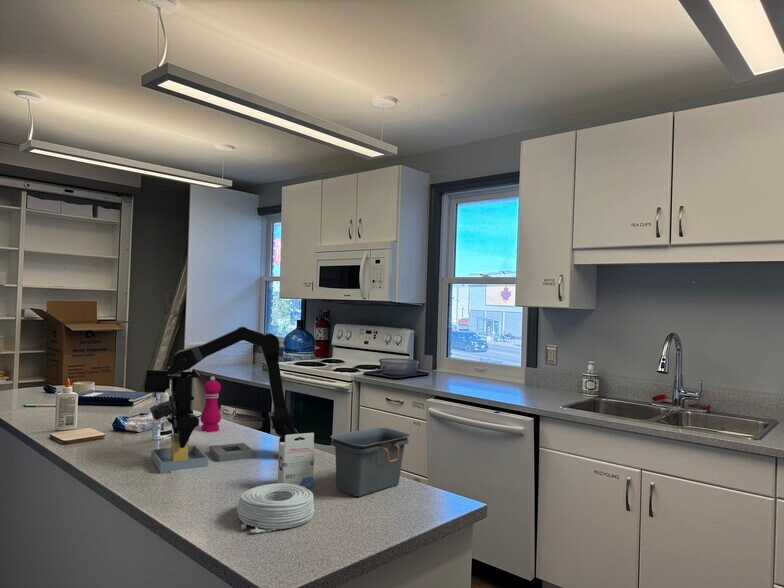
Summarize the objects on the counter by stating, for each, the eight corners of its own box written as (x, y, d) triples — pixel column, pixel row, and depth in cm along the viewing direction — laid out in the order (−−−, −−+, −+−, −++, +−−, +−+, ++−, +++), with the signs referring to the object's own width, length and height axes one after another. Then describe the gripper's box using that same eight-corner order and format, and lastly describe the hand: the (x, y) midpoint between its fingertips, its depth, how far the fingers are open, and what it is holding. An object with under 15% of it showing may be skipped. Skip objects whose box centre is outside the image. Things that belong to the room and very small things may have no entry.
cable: (242, 538, 118) (244, 509, 118) (231, 508, 134) (232, 483, 134) (322, 528, 125) (324, 500, 125) (302, 500, 141) (303, 476, 141)
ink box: (307, 482, 155) (309, 428, 155) (313, 487, 150) (315, 432, 151) (276, 485, 151) (279, 430, 151) (281, 491, 146) (284, 434, 147)
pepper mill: (224, 430, 209) (226, 376, 210) (208, 433, 203) (211, 378, 204) (211, 426, 213) (213, 374, 214) (195, 430, 207) (198, 376, 207)
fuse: (187, 463, 165) (189, 435, 166) (173, 464, 163) (174, 437, 163) (184, 459, 169) (185, 432, 169) (169, 460, 167) (171, 434, 167)
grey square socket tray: (254, 459, 174) (254, 451, 174) (218, 463, 168) (219, 455, 168) (243, 450, 183) (243, 442, 183) (209, 454, 177) (209, 446, 177)
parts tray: (207, 467, 163) (208, 457, 163) (160, 473, 156) (160, 462, 156) (195, 454, 176) (195, 445, 176) (150, 459, 169) (151, 449, 169)
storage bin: (378, 473, 165) (380, 425, 165) (418, 487, 154) (420, 435, 155) (322, 489, 149) (325, 435, 149) (363, 506, 139) (366, 448, 139)
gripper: (147, 388, 170) (145, 440, 170) (159, 399, 154) (156, 456, 154) (185, 387, 176) (183, 436, 176) (200, 397, 160) (198, 451, 160)
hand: (179, 445), depth 166 cm, fingers open, 6 cm apart
